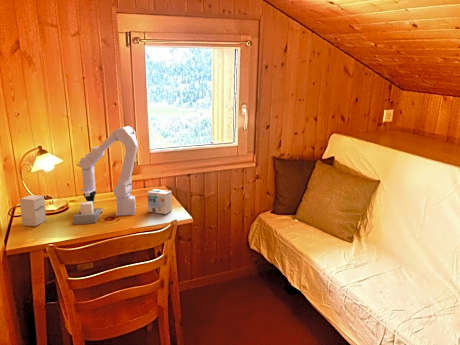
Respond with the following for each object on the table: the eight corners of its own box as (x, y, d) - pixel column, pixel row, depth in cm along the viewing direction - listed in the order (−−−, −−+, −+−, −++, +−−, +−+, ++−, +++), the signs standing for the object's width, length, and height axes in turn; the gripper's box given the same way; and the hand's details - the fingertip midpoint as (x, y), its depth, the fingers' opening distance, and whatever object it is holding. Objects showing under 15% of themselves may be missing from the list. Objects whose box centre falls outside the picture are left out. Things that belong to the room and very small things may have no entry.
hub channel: (100, 213, 185) (99, 206, 185) (95, 223, 172) (95, 214, 171) (79, 214, 184) (78, 207, 183) (73, 224, 170) (72, 216, 169)
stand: (104, 209, 192) (104, 207, 192) (102, 212, 187) (102, 211, 186) (92, 209, 191) (92, 208, 191) (90, 213, 186) (90, 212, 185)
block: (83, 213, 183) (82, 201, 182) (93, 212, 184) (92, 201, 182) (81, 216, 178) (80, 204, 177) (91, 215, 179) (91, 204, 178)
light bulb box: (147, 211, 189) (147, 191, 187) (154, 208, 195) (154, 188, 193) (166, 214, 185) (165, 193, 183) (172, 210, 191) (172, 190, 189)
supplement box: (36, 226, 167) (33, 199, 165) (21, 225, 169) (18, 198, 166) (47, 221, 174) (44, 195, 172) (33, 219, 176) (30, 194, 173)
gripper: (83, 177, 191) (85, 202, 194) (77, 184, 177) (79, 210, 180) (97, 177, 193) (99, 201, 196) (92, 183, 179) (94, 210, 182)
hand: (90, 206), depth 188 cm, fingers closed
